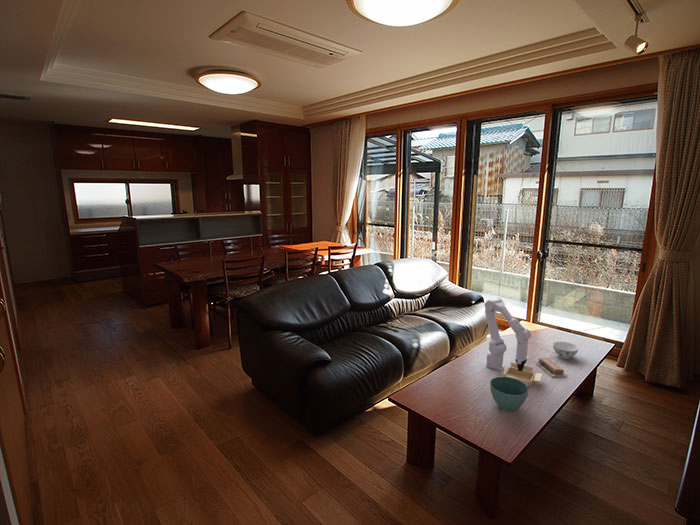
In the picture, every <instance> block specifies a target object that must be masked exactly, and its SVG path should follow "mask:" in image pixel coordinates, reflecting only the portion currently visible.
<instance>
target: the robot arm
mask: <svg viewBox="0 0 700 525" xmlns="http://www.w3.org/2000/svg"><path fill="white" fill-rule="evenodd" d="M483 304H484V309H485V310H484V313H485V314H484V315H485V318H486V322H487V327H488V331H489V335H490V336H489V337H490V340H489V342H488V352H487V355H486V363H485V364H486V368H490V369H493V370H498V371H502V370H503V368H504V367H505V364H503V363H504V354H505V352H506V351H507V345H506V343H505V341H504V339H502V338H501V336H500V330H499V327H498V322H497V318H496V315H495V314H496V313H497V312H498V313H500V314H501V316H503V317H504V318H505V320H506V321H508V326H509V327H510V328H511V330H512V331H513V332H514V333H515V338H516V343H517V344H516V352H515V353H516V354H515V363H517V366H518V368H517V369H518V371H522V370H523V367H524V365H526V363H527V360H529V359H530V357H529V356H528V347H529V339H530V338H531V337H532V333H531V332H530V330H529V329H527V328H525V327H524V326H523V325H522V324H521V322H520V320H518V319H516V318H514V317H513V315H512V314H511V312H509V310H508V308H507V307H506V304H505V302H504V301H503V299H502V298H500V297H496V298H493V299H487V300H486V301H485V303H483Z"/></svg>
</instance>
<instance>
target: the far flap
mask: <svg viewBox="0 0 700 525" xmlns="http://www.w3.org/2000/svg"><path fill="white" fill-rule="evenodd" d="M542 379H543V373H540V372H536V373H535V376H534V380H533V383H541V381H542Z"/></svg>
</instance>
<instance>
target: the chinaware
mask: <svg viewBox="0 0 700 525" xmlns="http://www.w3.org/2000/svg"><path fill="white" fill-rule="evenodd" d="M552 348H553V351H554V352H555V353H556V354H557V355H558V357H559V358H560V359H564V360H570V359H571V358H573V357H574V356H576V355H577V353H578V352H579V346H577V345H576V344H573V343H570V342H567V341H554V342H553V343H552Z"/></svg>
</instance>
